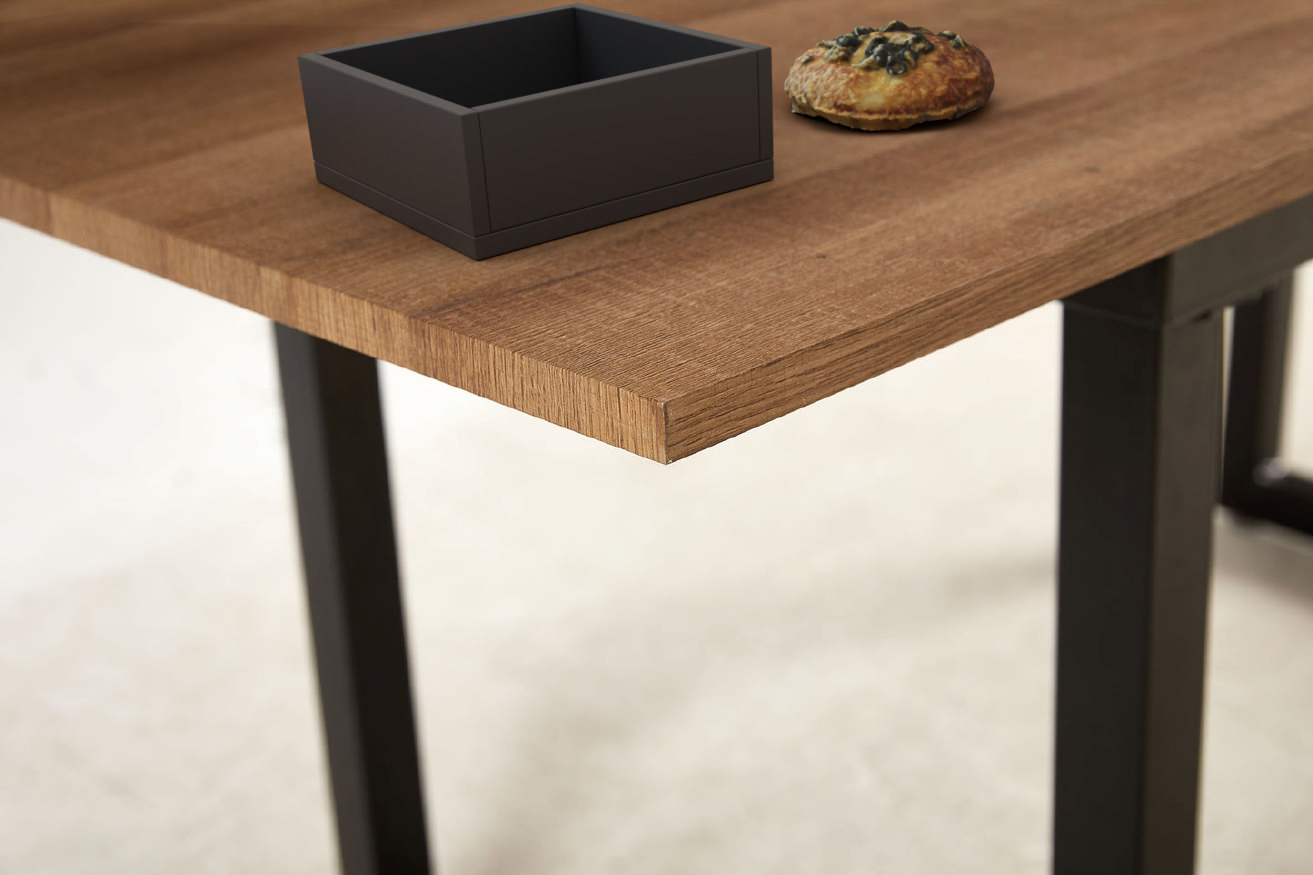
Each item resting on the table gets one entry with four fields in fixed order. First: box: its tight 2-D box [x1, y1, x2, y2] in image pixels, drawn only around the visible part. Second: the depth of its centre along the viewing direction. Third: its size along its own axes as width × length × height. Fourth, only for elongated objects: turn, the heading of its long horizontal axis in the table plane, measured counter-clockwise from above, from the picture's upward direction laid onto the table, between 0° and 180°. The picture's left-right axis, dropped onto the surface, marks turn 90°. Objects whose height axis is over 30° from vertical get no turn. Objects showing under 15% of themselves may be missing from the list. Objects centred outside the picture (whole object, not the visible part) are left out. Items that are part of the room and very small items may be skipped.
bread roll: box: [783, 19, 996, 132], centre depth 80 cm, size 11×11×5 cm
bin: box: [297, 2, 775, 261], centre depth 71 cm, size 16×16×6 cm
